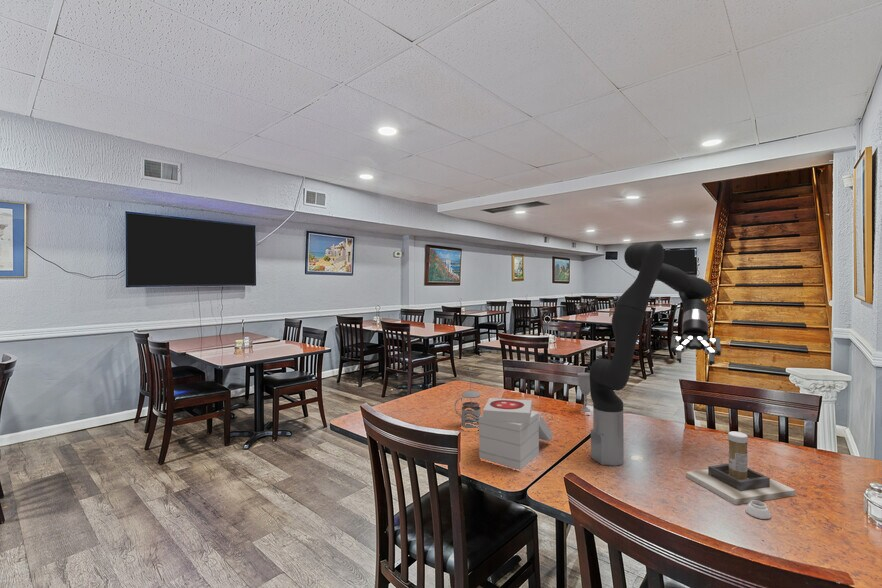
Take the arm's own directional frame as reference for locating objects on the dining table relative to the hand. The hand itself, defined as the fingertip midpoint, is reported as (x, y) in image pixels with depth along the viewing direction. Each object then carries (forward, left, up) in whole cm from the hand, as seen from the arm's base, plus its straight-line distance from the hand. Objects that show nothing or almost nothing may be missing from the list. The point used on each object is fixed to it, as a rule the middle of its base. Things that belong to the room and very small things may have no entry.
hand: (695, 362), depth 131 cm
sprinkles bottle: (-2, -17, -31) cm, 35 cm away
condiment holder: (-2, -17, -32) cm, 36 cm away
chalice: (-7, +52, -32) cm, 62 cm away
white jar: (-11, -29, -33) cm, 45 cm away
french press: (-63, +48, -32) cm, 86 cm away
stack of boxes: (-54, +20, -32) cm, 67 cm away
